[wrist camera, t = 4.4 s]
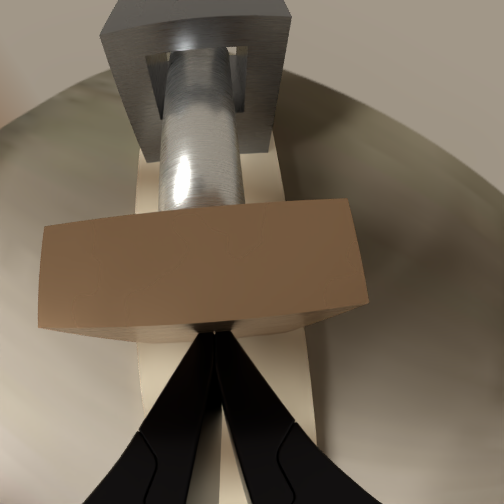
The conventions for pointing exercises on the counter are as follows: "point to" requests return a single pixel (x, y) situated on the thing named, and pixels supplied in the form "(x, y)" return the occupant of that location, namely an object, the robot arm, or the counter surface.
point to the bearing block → (198, 37)
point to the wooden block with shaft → (201, 240)
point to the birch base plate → (257, 348)
